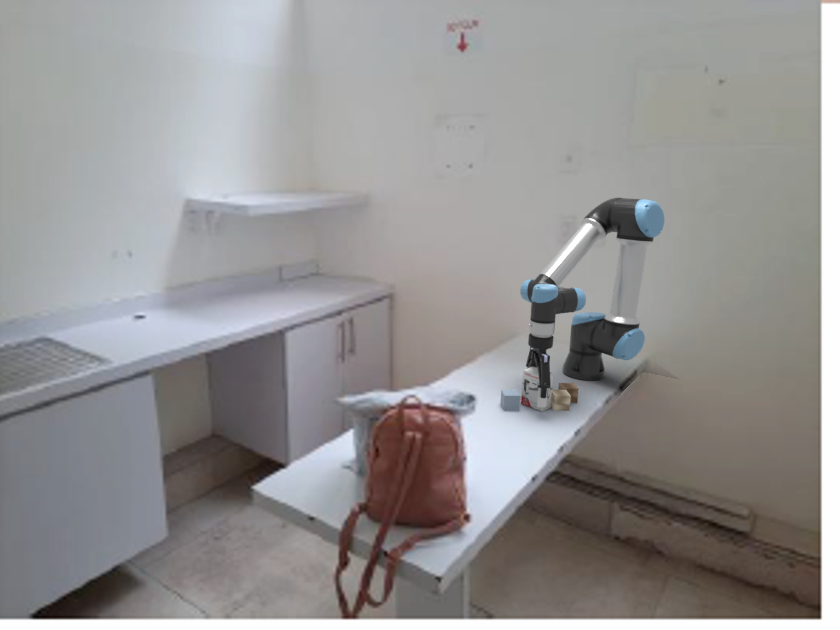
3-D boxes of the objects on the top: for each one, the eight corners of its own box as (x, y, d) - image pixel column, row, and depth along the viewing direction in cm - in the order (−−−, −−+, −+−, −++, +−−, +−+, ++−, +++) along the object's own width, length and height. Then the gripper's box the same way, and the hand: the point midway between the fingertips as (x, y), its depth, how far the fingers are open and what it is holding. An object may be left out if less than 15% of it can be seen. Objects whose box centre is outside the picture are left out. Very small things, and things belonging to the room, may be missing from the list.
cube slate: (515, 404, 186) (516, 389, 184) (519, 410, 181) (520, 395, 180) (500, 404, 185) (501, 389, 184) (503, 410, 180) (504, 395, 179)
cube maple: (564, 404, 187) (565, 389, 185) (569, 410, 182) (570, 395, 181) (549, 404, 186) (550, 389, 185) (553, 410, 182) (555, 395, 180)
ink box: (519, 403, 186) (522, 369, 183) (528, 399, 189) (531, 365, 186) (542, 412, 180) (545, 376, 177) (551, 407, 183) (554, 373, 180)
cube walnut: (572, 397, 193) (573, 383, 192) (577, 403, 188) (578, 388, 187) (557, 397, 192) (558, 383, 191) (562, 403, 188) (563, 388, 186)
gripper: (520, 323, 190) (515, 383, 196) (540, 346, 166) (534, 414, 171) (542, 323, 191) (537, 384, 196) (565, 346, 167) (558, 414, 172)
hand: (535, 398), depth 184 cm, fingers open, 13 cm apart
